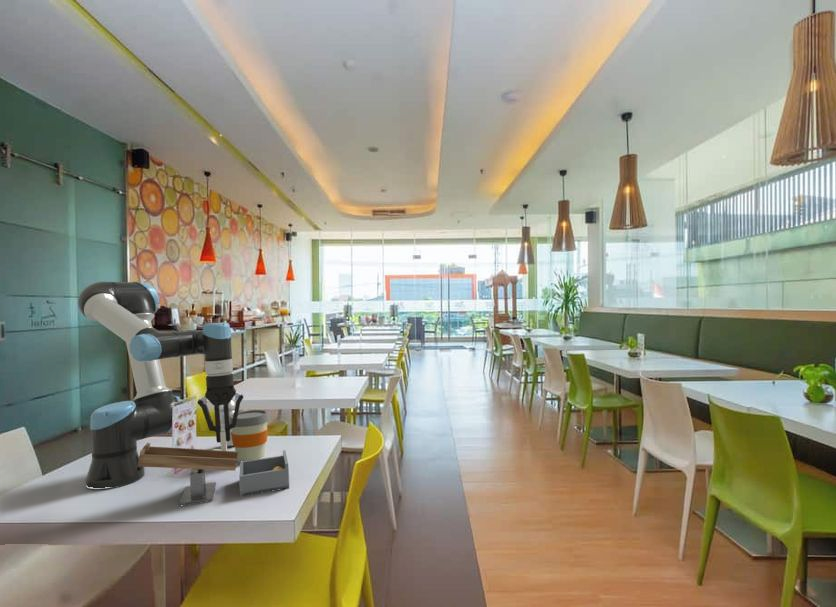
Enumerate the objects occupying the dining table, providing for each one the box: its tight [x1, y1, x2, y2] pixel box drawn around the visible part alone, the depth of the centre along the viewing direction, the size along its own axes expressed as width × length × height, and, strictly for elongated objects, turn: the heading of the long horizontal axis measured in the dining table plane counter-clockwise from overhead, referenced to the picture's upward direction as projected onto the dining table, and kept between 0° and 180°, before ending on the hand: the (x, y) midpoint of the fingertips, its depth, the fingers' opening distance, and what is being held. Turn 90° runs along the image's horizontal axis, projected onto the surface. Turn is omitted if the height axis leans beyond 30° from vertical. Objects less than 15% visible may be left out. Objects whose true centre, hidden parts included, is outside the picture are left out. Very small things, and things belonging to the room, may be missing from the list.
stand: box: [178, 469, 217, 507], centre depth 127 cm, size 12×8×7 cm, turn 20°
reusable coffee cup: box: [230, 409, 269, 462], centre depth 157 cm, size 13×12×15 cm
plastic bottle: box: [219, 398, 236, 448], centre depth 171 cm, size 6×7×20 cm
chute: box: [137, 442, 238, 474], centre depth 129 cm, size 17×24×5 cm
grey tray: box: [238, 450, 290, 497], centre depth 132 cm, size 13×13×7 cm
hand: (224, 452), depth 136 cm, fingers closed
